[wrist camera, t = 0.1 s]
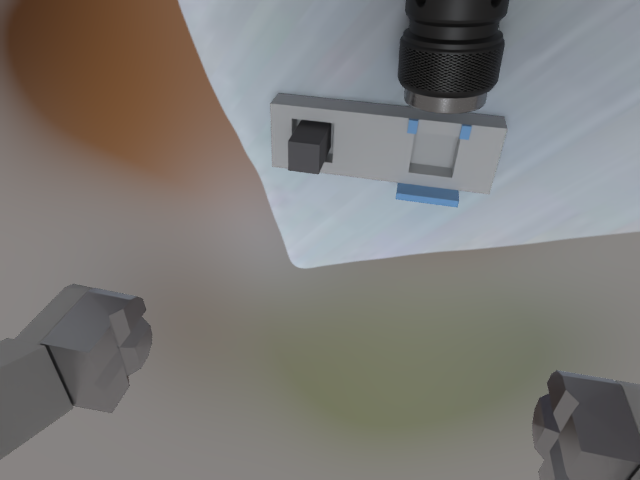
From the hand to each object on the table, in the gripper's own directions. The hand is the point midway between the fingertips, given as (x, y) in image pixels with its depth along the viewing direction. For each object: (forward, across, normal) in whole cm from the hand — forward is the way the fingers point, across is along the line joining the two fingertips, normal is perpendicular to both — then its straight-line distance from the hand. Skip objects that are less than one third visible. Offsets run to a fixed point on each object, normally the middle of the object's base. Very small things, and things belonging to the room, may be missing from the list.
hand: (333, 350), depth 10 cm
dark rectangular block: (+47, +10, +16) cm, 51 cm away
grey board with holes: (+48, +2, +16) cm, 51 cm away
